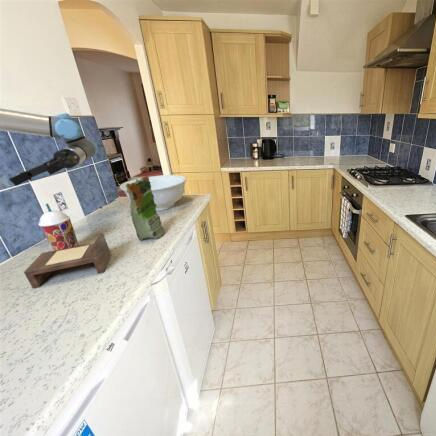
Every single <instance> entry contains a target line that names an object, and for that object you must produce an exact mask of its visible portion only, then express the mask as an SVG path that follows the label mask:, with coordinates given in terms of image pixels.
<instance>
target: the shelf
mask: <svg viewBox="0 0 436 436" xmlns="http://www.w3.org/2000/svg"><path fill="white" fill-rule="evenodd" d="M111 256H112V252H111V250H110V247H109V244H108V243H107V240H106V236H105V234H104V233H99V234H98V235H97V237H96V239H95V240H94V242H93V243H88V244H83V245H79V246H76V247H71V248H66V249H60V250H55V251H54V250H50V251H44V252H41V253H40V254H39V255H38V257H36V258H35V259H34V260H33V262H32V263H31V264H30V265H29V266H28V267H27V268H26V269H25V270H24V271H23V273H24V275H25V277H26V280H28V281H27V282H29V285H30V286H31V287H32V289H37V288H40V287H41V286H42V285H43V283H44V282H45V281H46V279H47V278H48V277H49V275H50V274H51V273H52V272H55V271H58V270H64V269H67V268H73V267H77V266H82V265H86V264H92V263H93V264H94V267H95V270H96V272H97V274H102V273H105V271H106V268H107V266H108V264H109V261H110V260H111Z"/></svg>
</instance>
